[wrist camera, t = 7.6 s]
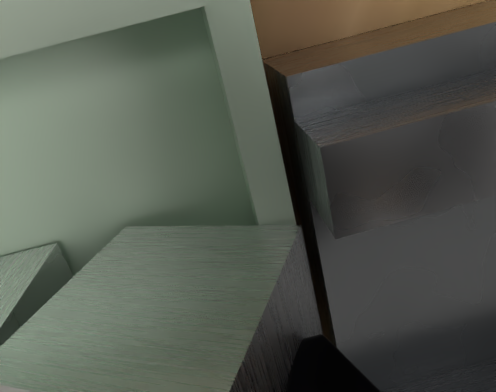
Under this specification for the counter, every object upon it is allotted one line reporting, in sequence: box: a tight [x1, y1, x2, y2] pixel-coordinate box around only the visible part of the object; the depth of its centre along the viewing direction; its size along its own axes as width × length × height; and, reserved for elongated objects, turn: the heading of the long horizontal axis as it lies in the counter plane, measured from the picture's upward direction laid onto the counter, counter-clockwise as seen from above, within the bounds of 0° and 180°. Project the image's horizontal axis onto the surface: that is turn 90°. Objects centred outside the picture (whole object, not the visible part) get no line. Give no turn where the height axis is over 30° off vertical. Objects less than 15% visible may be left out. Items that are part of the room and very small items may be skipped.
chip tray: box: [0, 0, 296, 276], centre depth 9 cm, size 10×14×4 cm
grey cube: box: [0, 225, 323, 392], centre depth 8 cm, size 4×4×4 cm
